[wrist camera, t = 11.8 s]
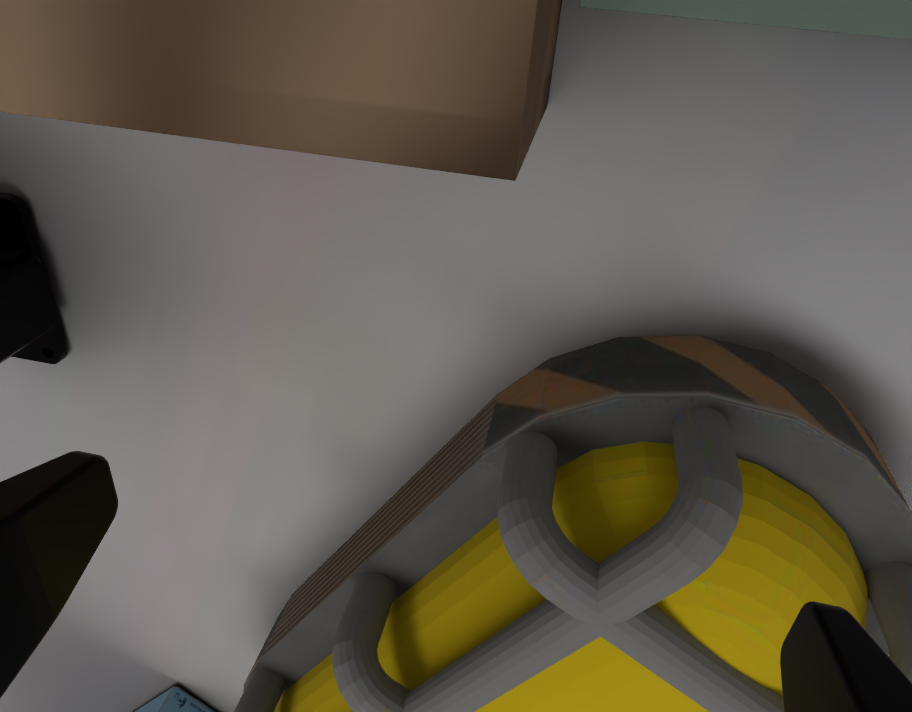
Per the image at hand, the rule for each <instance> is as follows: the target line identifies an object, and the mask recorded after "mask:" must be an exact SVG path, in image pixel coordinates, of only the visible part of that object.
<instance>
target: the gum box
mask: <svg viewBox="0 0 912 712" xmlns="http://www.w3.org/2000/svg"><path fill="white" fill-rule="evenodd" d="M135 712H215V711H213V710H212V709H210V708H209V707H207V706H206V705H205V704H203V703H202V702H200V701H199V700H197V699H196V698H194V697H192V696H191V695H190V694H188V693H187V692H186V691H184V690H183V689H181V688H179V687H172V688H171V689H169V690H168V691H166V692H164V693H163V694H161V695H160V696H158V697H156V698H155V699H153V700H152V701H150V702H149V703H147V704H145V705H144V706H142V707H141V708H139V709H138V710H136V711H135Z"/></svg>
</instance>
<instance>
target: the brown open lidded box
mask: <svg viewBox="0 0 912 712" xmlns="http://www.w3.org/2000/svg"><path fill="white" fill-rule="evenodd" d="M561 4H562V0H0V112H6V113H14V114H21V115H29V116H36V117H44V118H51V119H59V120H66V121H73V122H81V123H88V124H96V125H103V126H111V127H118V128H126V129H133V130H141V131H148V132H156V133H163V134H170V135H178V136H185V137H193V138H200V139H208V140H215V141H223V142H230V143H238V144H245V145H252V146H260V147H267V148H275V149H282V150H290V151H297V152H305V153H312V154H320V155H327V156H335V157H342V158H349V159H357V160H364V161H372V162H379V163H387V164H394V165H402V166H409V167H417V168H424V169H431V170H439V171H446V172H454V173H461V174H469V175H476V176H484V177H491V178H499V179H506V180H514V181H515V180H516V177H517V175H518V173H519V170H520V168H521V166H522V164H523V161H524V159H525V157H526V154H527V152H528V150H529V147H530V145H531V143H532V140H533V138H534V136H535V133H536V131H537V129H538V126H539V124H540V122H541V119H542V117H543V115H544V112H545V110H546V108H547V104H548V97H549V90H550V83H551V75H552V68H553V61H554V54H555V47H556V40H557V33H558V25H559V18H560V11H561Z"/></svg>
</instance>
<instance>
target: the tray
mask: <svg viewBox="0 0 912 712" xmlns="http://www.w3.org/2000/svg"><path fill="white" fill-rule="evenodd" d="M579 7H584V8H594V9H604V10H614V11H625V12H635V13H645V14H655V15H665V16H675V17H685V18H695V19H705V20H715V21H725V22H735V23H745V24H756V25H766V26H776V27H786V28H796V29H806V30H816V31H826V32H836V33H846V34H856V35H866V36H877V37H887V38H897V39H907V40H912V0H580V6H579Z"/></svg>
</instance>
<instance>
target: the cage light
mask: <svg viewBox="0 0 912 712" xmlns="http://www.w3.org/2000/svg"><path fill="white" fill-rule="evenodd" d="M810 601H814V602H819V603H824V604H829V605H834V606H838V607H842V608H844V609H846V610H847V611H848V612H850V613H851V614H852V615H853V617H854V618H855V619H856V620H857V621H858V622H859V623H860V624H861V626H862V627H863V628H864V629H865V630H866V631H867V632H868V634H869V635H870V636H871V637H872V638H873V639H874V640H875V641H876V643H877V644H878V645H879V646H880V647H881V648H882V649H883V651H884V652H885V653H886V654H887V655H889V654H890V655H889V657H890V658H891V660H892V661H893V662H894V663H895V664H896V665H897V666H898V668H899V669H900V670H901V671H902V672H903V673H904V674H905V675H906V677H907V678H908V679H909V680H910V681H911V682H912V512H911V510H910V509H909V507H908V505H907V503H906V501H905V499H904V497H903V495H902V494H901V492H900V490H899V488H898V486H897V484H896V482H895V480H894V479H893V477H892V475H891V473H890V471H889V469H888V467H887V465H886V464H885V462H884V460H883V458H882V456H881V454H880V452H879V450H878V449H877V447H876V445H875V443H874V441H873V439H872V438H871V436H870V435H869V434H868V433H867V432H866V430H865V429H864V428H863V427H862V425H861V424H860V423H859V422H858V421H857V419H856V418H855V417H854V416H853V414H852V413H851V412H850V411H849V410H848V408H847V407H846V406H845V405H844V403H843V402H842V401H841V400H840V399H839V397H838V396H837V395H836V394H835V392H834V391H833V390H832V389H830V388H829V387H827V386H825V385H823V384H822V383H820V382H818V381H817V380H815V379H813V378H812V377H810V376H808V375H806V374H805V373H803V372H801V371H800V370H798V369H796V368H795V367H793V366H791V365H789V364H788V363H786V362H784V361H783V360H781V359H779V358H778V357H776V356H774V355H772V354H771V353H767V352H763V351H759V350H755V349H751V348H747V347H742V346H738V345H734V344H730V343H726V342H722V341H717V340H713V339H709V338H705V337H701V336H697V335H679V336H648V337H617V338H614V339H611V340H608V341H604V342H601V343H598V344H595V345H592V346H588V347H585V348H582V349H579V350H576V351H572V352H569V353H566V354H563V355H560V356H556V357H553V358H550V359H548V360H547V361H545V362H544V363H542V364H541V365H539V366H538V367H536V368H535V369H534V370H532V371H531V372H529V373H528V374H526V375H525V376H523V377H522V378H520V379H519V380H518V381H516V382H515V383H513V384H512V385H510V386H509V387H507V388H506V389H504V390H503V391H502V392H500V393H499V394H497V395H496V396H495V397H494V398H493V399H492V400H491V401H490V402H489V403H488V404H487V405H486V406H485V407H484V408H483V409H482V410H481V411H480V412H479V413H478V414H477V415H476V416H475V417H474V418H473V419H472V420H471V421H470V422H469V423H468V424H467V425H466V426H465V427H464V428H462V429H461V430H460V431H459V432H458V433H457V434H456V435H455V436H454V437H453V438H452V439H451V440H450V441H449V442H448V443H447V444H446V445H445V446H444V447H443V448H442V449H441V450H440V451H439V452H438V453H437V454H436V455H435V456H434V457H433V458H432V459H431V460H430V461H429V462H428V463H427V464H426V465H425V466H423V467H422V468H421V469H420V470H419V471H418V472H417V473H416V474H415V475H414V476H413V477H412V478H411V479H410V480H409V481H408V482H407V483H406V484H405V485H404V486H403V487H402V488H401V489H400V490H399V491H398V492H397V493H396V494H395V495H394V496H393V497H392V498H391V499H390V500H389V501H388V502H387V503H386V504H385V505H383V506H382V507H381V508H380V509H379V510H378V511H377V512H376V513H375V514H374V515H373V516H372V517H371V518H370V519H369V520H368V521H367V522H366V523H365V524H364V525H363V526H362V527H361V528H360V529H359V530H358V531H357V532H356V533H355V534H354V535H353V536H352V537H351V538H350V539H349V540H348V541H347V542H346V543H344V544H343V545H342V546H341V547H340V548H339V549H338V550H337V551H336V552H335V553H334V554H333V555H332V556H331V557H330V558H329V559H328V560H327V561H326V562H325V563H324V564H323V565H322V566H321V567H320V568H319V569H318V570H317V571H316V572H315V573H314V574H313V575H312V576H311V577H310V578H309V579H308V580H307V581H306V582H304V583H303V584H302V585H301V586H300V587H299V588H298V589H297V590H296V591H295V592H294V593H293V594H292V596H291V597H290V599H289V600H288V602H287V604H286V605H285V607H284V609H283V610H282V612H281V613H280V615H279V617H278V618H277V620H276V622H275V624H274V626H273V628H272V630H271V632H270V634H269V636H268V638H267V640H266V642H265V644H264V646H263V648H262V650H261V652H260V654H259V656H258V658H257V660H256V662H255V664H254V666H253V668H252V670H251V671H250V673H249V675H248V677H247V679H246V681H245V683H244V693H243V695H242V697H241V699H240V701H239V703H238V705H237V707H236V709H235V711H234V712H784V705H783V693H782V681H781V668H780V654H781V648H782V644H783V642H784V640H785V638H786V636H787V634H788V632H789V630H790V628H791V627H792V625H793V623H794V621H795V619H796V617H797V615H798V613H799V611H800V610H801V608H802V607H803V605H804V604H806V603H807V602H810Z"/></svg>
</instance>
